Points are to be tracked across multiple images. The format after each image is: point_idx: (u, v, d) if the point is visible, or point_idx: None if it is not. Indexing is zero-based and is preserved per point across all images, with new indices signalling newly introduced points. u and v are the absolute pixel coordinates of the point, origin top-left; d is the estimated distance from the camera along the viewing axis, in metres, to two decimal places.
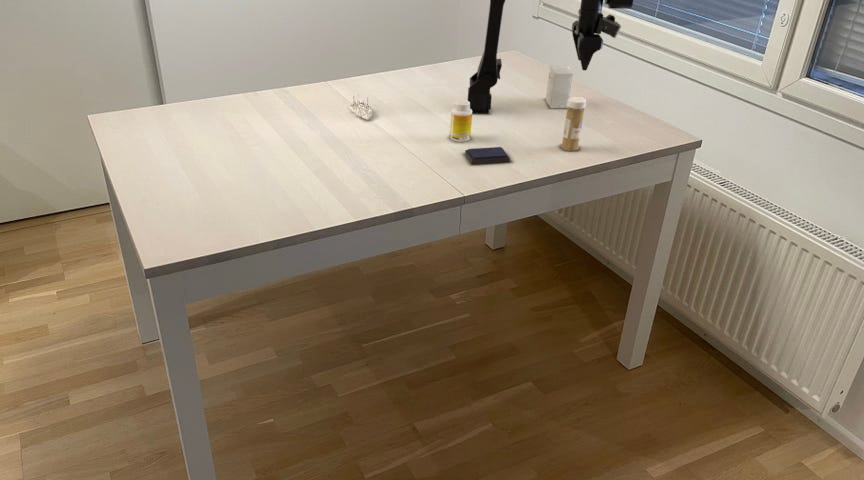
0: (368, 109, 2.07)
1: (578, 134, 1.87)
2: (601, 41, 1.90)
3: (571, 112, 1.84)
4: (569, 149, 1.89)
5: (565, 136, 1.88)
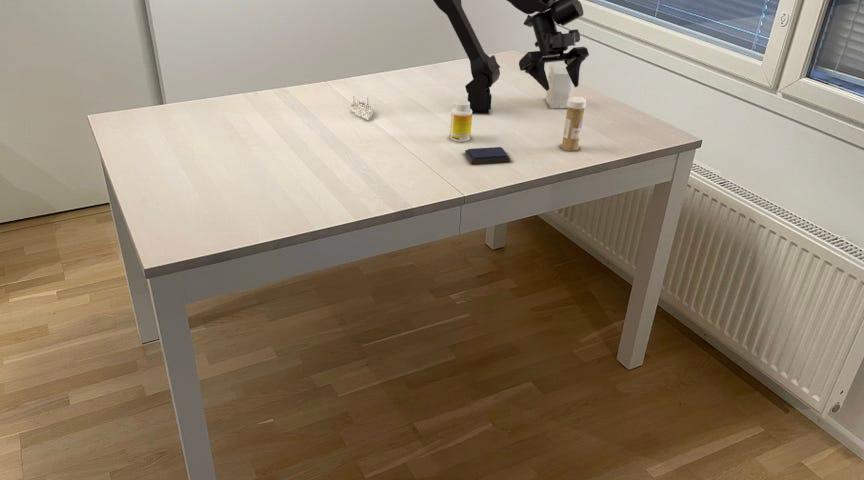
0: (368, 109, 2.07)
1: (578, 134, 1.87)
2: (528, 54, 1.86)
3: (571, 112, 1.84)
4: (569, 149, 1.89)
5: (565, 136, 1.88)
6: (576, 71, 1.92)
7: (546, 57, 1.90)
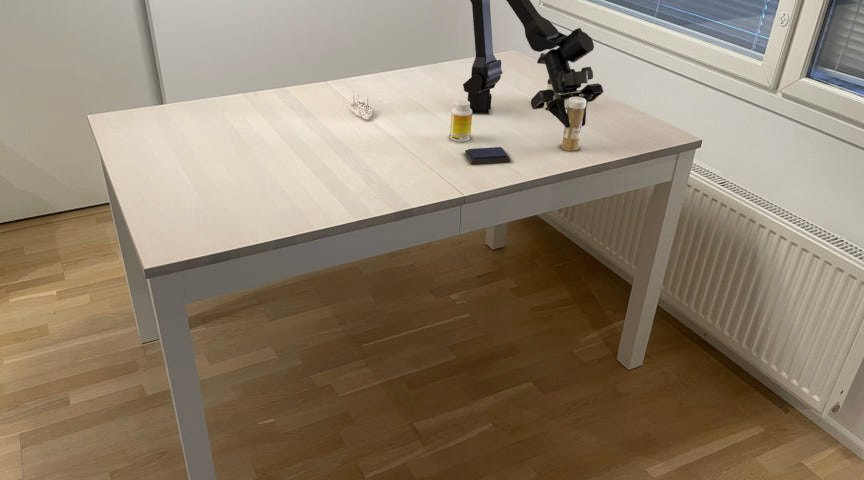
0: (368, 109, 2.07)
1: (578, 134, 1.87)
2: (539, 93, 1.83)
3: (572, 112, 1.84)
4: (569, 149, 1.89)
5: (565, 136, 1.88)
6: None
7: (567, 94, 1.87)
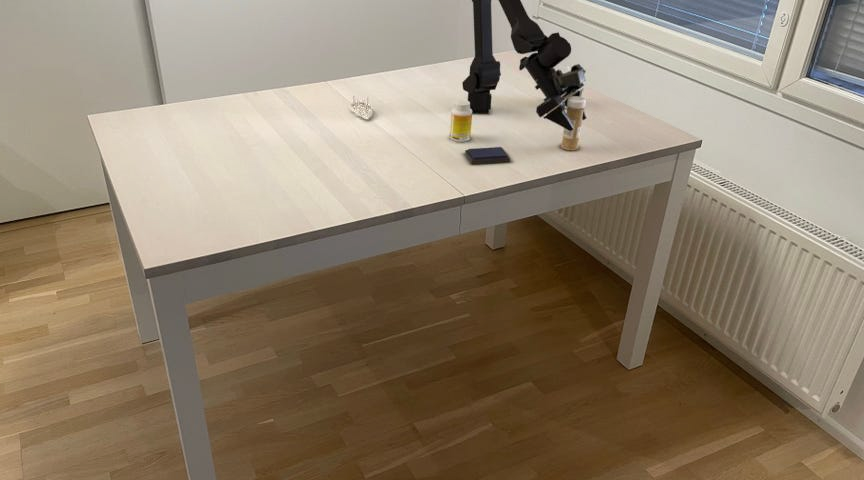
0: (368, 109, 2.07)
1: None
2: (552, 100, 1.78)
3: (576, 112, 1.84)
4: (574, 149, 1.89)
5: (569, 137, 1.87)
6: None
7: None
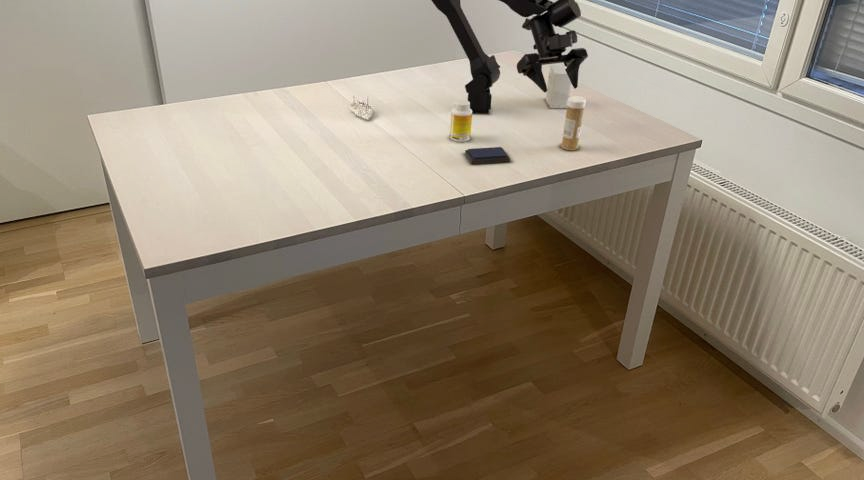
0: (368, 109, 2.07)
1: None
2: (525, 56, 1.86)
3: (576, 112, 1.84)
4: (574, 149, 1.89)
5: (569, 137, 1.87)
6: (575, 72, 1.91)
7: (544, 59, 1.89)
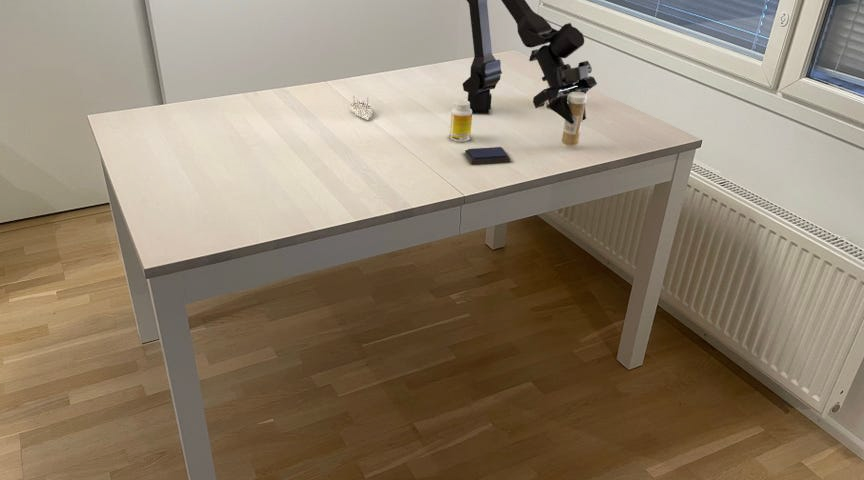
0: (368, 109, 2.07)
1: None
2: (545, 92, 1.80)
3: (580, 107, 1.83)
4: (576, 143, 1.89)
5: (572, 133, 1.87)
6: None
7: (566, 90, 1.86)
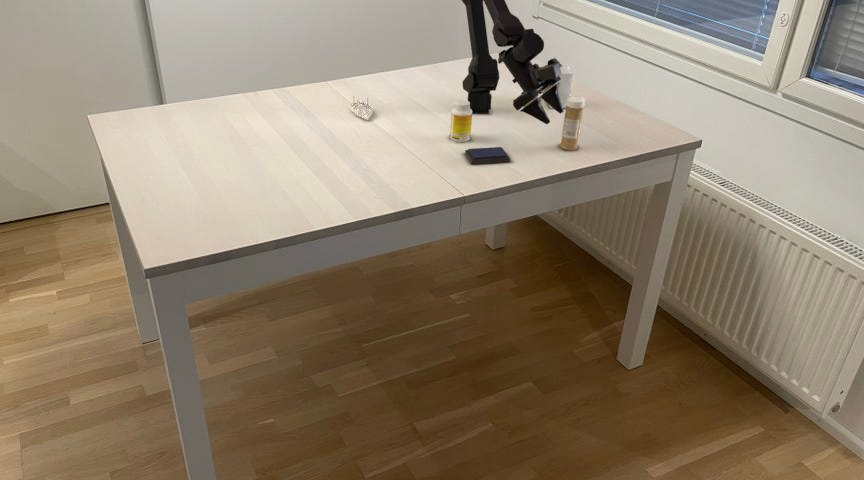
0: (368, 109, 2.07)
1: None
2: (528, 93, 1.81)
3: (580, 111, 1.84)
4: (576, 147, 1.90)
5: (574, 137, 1.87)
6: (557, 98, 1.92)
7: None
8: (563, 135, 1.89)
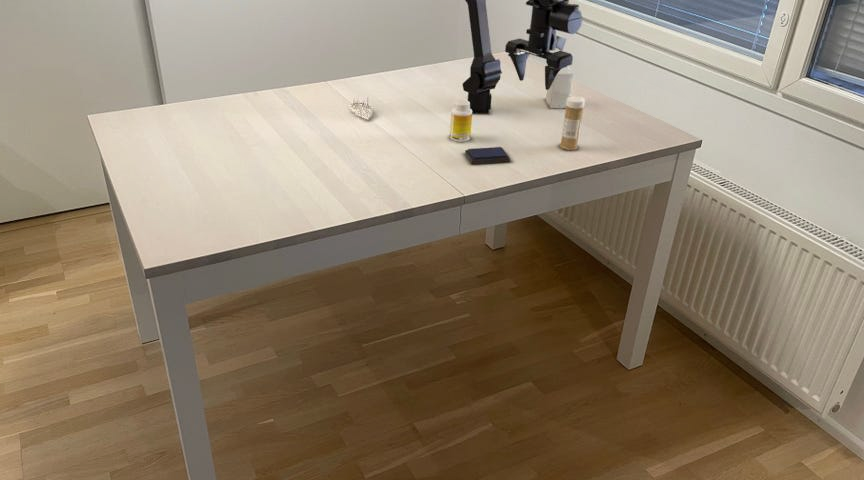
0: (368, 109, 2.07)
1: None
2: (572, 57, 1.84)
3: (580, 111, 1.84)
4: (576, 147, 1.90)
5: (574, 137, 1.87)
6: None
7: None
8: (563, 135, 1.89)
